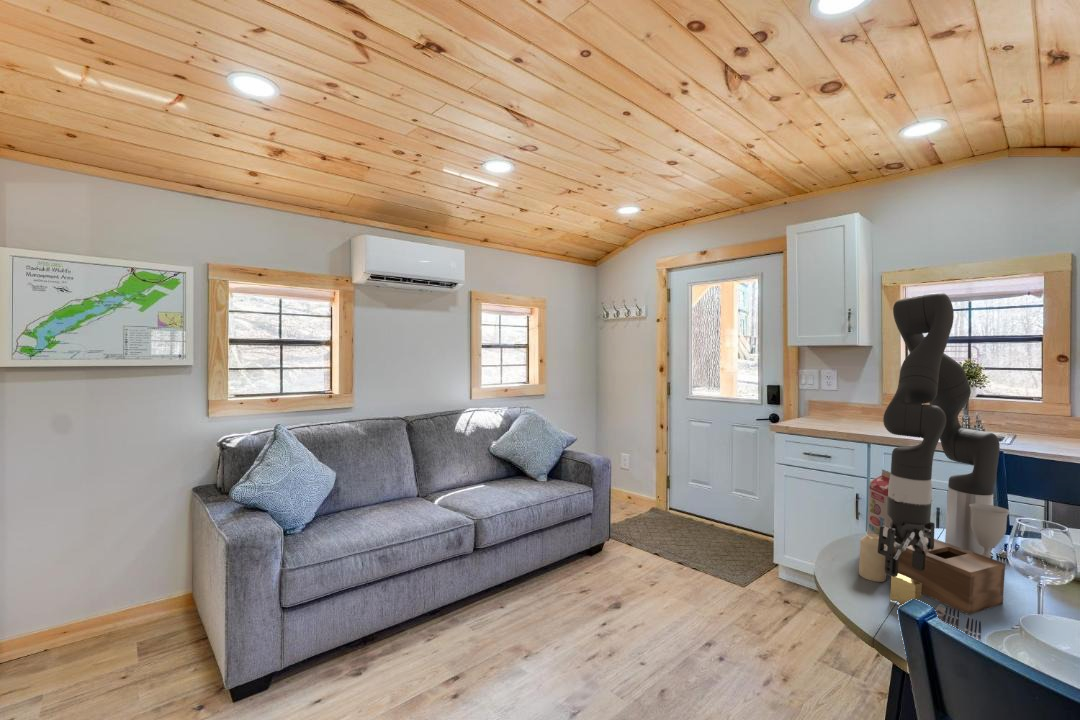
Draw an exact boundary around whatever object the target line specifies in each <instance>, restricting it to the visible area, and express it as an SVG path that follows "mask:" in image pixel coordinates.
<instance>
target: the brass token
mask: <svg viewBox="0 0 1080 720" xmlns="http://www.w3.org/2000/svg"><path fill="white" fill-rule="evenodd" d="M890 577H891V578H890V580H891V581H890V597H889V598H890V599H889V601H890V600H892V601H898V602H899V603H900V604H899V605H902V604H904V603H905V602H907V601H909V600H911V599H917V600H920V601H921V602H922V594H921V589H922V583H920V582H917V581H915V580H913V579H910V578H908V577H906V576H903V575H901V574H899V573H898V576H895V577H893V576H891V575H890ZM899 605H898V606H899Z"/></svg>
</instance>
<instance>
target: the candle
mask: <svg viewBox="0 0 1080 720" xmlns="http://www.w3.org/2000/svg"><path fill="white" fill-rule="evenodd" d="M859 540H860V541H859V542H860V544H859V546H860V547H859V559H858V560H859V561H858V564H859V565H858V575H860V577H861V578H863V579H866V580H868V581H872V582H877V583H878V582H885V581H886V579H887V574H886V572H885V556H884V555H882V554H879V553H878V542H879V536H877V535H876V534H867V533H866V535H864V536H862V537H861V538H860V539H859ZM886 546H887V545H885V544H884V549H885V548H886Z"/></svg>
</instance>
